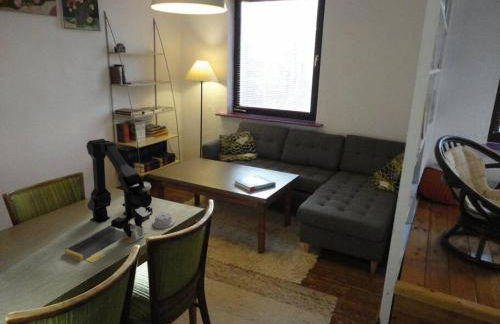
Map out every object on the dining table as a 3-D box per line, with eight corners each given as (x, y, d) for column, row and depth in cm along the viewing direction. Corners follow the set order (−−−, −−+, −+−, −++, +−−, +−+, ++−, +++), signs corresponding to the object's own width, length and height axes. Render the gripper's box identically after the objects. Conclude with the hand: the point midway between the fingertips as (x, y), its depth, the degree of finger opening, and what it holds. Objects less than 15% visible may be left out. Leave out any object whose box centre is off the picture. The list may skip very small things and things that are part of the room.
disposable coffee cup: (136, 202, 190) (135, 181, 186) (154, 202, 190) (153, 181, 186) (130, 209, 181) (128, 187, 177) (149, 210, 180) (147, 188, 177)
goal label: (85, 260, 135) (85, 259, 135) (98, 252, 140) (98, 252, 140) (92, 262, 133) (92, 262, 133) (105, 255, 139) (105, 255, 138)
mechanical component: (149, 227, 162) (169, 230, 161) (148, 219, 161) (168, 221, 159) (158, 218, 172) (177, 220, 170) (158, 210, 171) (177, 212, 169)
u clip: (123, 237, 152) (123, 227, 151) (132, 232, 157) (131, 223, 155) (136, 241, 149) (135, 231, 148) (144, 236, 154) (143, 226, 152)
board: (120, 240, 150) (120, 240, 150) (137, 230, 159) (137, 230, 159) (130, 243, 148) (130, 243, 148) (147, 234, 156) (147, 233, 156)
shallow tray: (62, 254, 138) (62, 249, 138) (113, 228, 160) (112, 224, 159) (80, 261, 134) (80, 256, 133) (130, 234, 155) (129, 229, 155)
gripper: (129, 213, 137) (131, 248, 141) (161, 197, 153) (162, 230, 157) (108, 207, 142) (111, 242, 146) (141, 192, 158) (143, 224, 162)
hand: (134, 234), depth 153 cm, fingers closed on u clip, 5 cm apart
